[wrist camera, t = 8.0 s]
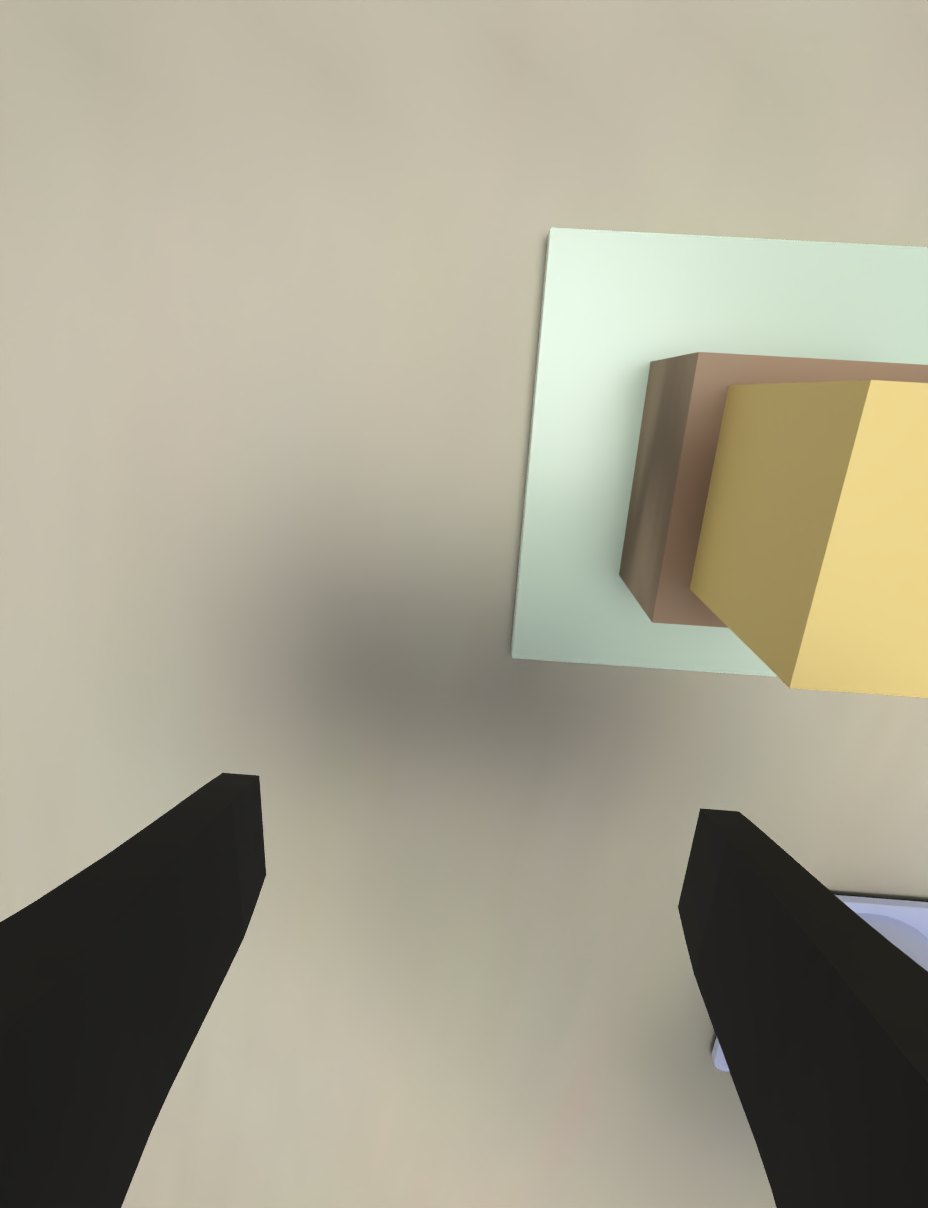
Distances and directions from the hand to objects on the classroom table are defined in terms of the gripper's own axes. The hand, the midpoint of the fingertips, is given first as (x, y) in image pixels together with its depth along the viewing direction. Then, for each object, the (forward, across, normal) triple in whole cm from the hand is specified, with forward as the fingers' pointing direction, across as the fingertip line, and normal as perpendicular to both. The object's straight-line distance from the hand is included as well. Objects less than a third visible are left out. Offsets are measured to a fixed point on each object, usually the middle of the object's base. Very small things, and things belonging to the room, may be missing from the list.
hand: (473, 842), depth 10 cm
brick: (+6, -7, -5) cm, 10 cm away
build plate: (+10, -7, -5) cm, 13 cm away
